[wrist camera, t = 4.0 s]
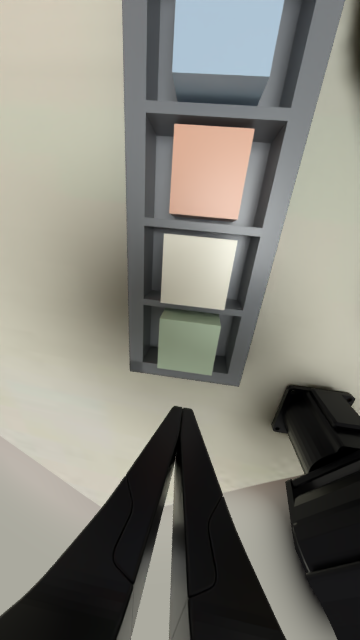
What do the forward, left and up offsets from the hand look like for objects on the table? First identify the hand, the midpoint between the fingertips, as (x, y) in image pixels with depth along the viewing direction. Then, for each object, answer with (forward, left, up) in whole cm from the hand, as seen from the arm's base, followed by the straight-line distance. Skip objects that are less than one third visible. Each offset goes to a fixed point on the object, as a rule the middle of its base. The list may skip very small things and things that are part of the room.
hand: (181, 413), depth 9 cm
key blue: (+16, 0, -9) cm, 18 cm away
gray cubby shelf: (+8, 0, -11) cm, 13 cm away
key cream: (+5, 0, -9) cm, 10 cm away
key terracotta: (+11, 0, -10) cm, 15 cm away
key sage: (-1, 0, -9) cm, 9 cm away
